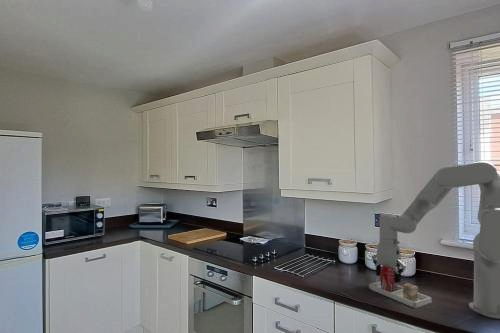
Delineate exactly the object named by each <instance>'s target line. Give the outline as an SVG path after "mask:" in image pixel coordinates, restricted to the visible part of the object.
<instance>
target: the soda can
mask: <svg viewBox="0 0 500 333" xmlns="http://www.w3.org/2000/svg"><path fill="white" fill-rule="evenodd" d="M381 266H382V267H381V275H380V281H381V289H383V290H386V291H388V292H394V291H397V288H398V285H399V284H398V283H399V282H398V283H395V273H396V272H395V270H394V269H393V268H391V267H390V266H385V265H381Z"/></svg>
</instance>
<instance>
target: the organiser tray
mask: <svg viewBox="0 0 500 333" xmlns="http://www.w3.org/2000/svg"><path fill="white" fill-rule="evenodd" d="M368 289H369V290H372V291H373V292H376V293H379V294H381V295H383V296H386V297H388V298H391V299H393V300H395V301H397V302H399V303H402V304H404V305H407V306H410V307H411V308H414V309H416V308H420V307H423V306H425V305H428V304H431V303H433V302H432V301H433V298H432V297H431V296H429V295H425V294H422V293H420V292H418V301H415V302H413V301H410V300H408V299H406V298H403V285H402V286H401V285H399V284H398V288H397V291H394V292H388V291H386V290H383V289H381V280H380V281H376V282H372V283H369V284H368Z"/></svg>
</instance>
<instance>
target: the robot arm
mask: <svg viewBox="0 0 500 333" xmlns="http://www.w3.org/2000/svg"><path fill="white" fill-rule="evenodd" d="M474 185H475V186H476V185H478V186H479V192H480V193H479V195H480V196H479V205H478V211H477V212H478V213H477V220H478V223H479V225H480V226H479V227H480V228H479V233H477V234H476V235H475V236H474V238H473V240H472V241H473V243H472V247H473V249H472V250H473V301H472V302H469V303H468V306H469V308H470V309H471V310H472V311H473V312H476V313H477V314H478V315H481V316H484V317H486V318H492V319H500V172H499V171H498V170H497V168H496V166H495V165H494V164H493V163H491V162H488V161H484V160H483V161H482V160H481V161H480V160H479V161H475V162H470V163H465V164H459V165H452V166H447V167H446V166H444V167H442V168H440V169H438V170H437V171H436V172H435V173H434V174H433V176H432V177H431V178H430V180H428V182H427V183H426V184H425V186H424V187H423V188H422V189H421V190H420V192H419V193H418V194H417V195H416V197H415V199H414V200H413V201H412V203H411V204H410V205H409V206H407V208H406V209H405V211H404V212H403V213H402V214H401V215H400V216H397V215H395V214H393V213H392V214H390V213H388V214H387V213H382V214H380V216H379V239H378V240H379V242H378V243H377V244H378V245H377V248H376V254H373V255H371V260H372V262H373V264H374V267H375V275H376V277H377V276H378V277H379V276H381V267H382V265H385V266H390V267H391V268H393V269H394V270H395V272H396V273H395V283H401V281H402V274H403V272H405V270H406V268H408V267H407V265H406V264H405V263H404V261H402V255H401V249H400V241H399V240H398V239H399V238H398V233H403V234H413V233H414V232H415V231H416V229H417V225H418V224H419V223H420V221H421V220H423V218H424V217H425V216H426V215H427V214H428V213H429V212H430V211H432V210H434V209H435V208H436V207H438V205H439V204H440V203H441V202H442V201H443V200H444V198H445V197H447V195H448V194H449V193H450V191H452V190H453V188H461V187H469V186H474Z"/></svg>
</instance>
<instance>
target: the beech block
mask: <svg viewBox="0 0 500 333" xmlns="http://www.w3.org/2000/svg"><path fill="white" fill-rule="evenodd" d="M402 287H403V298H406V299H408V300H410V301H413V302H415V301H418V293H419V287H418V285H415V284H412V283H404V284H402Z"/></svg>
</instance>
